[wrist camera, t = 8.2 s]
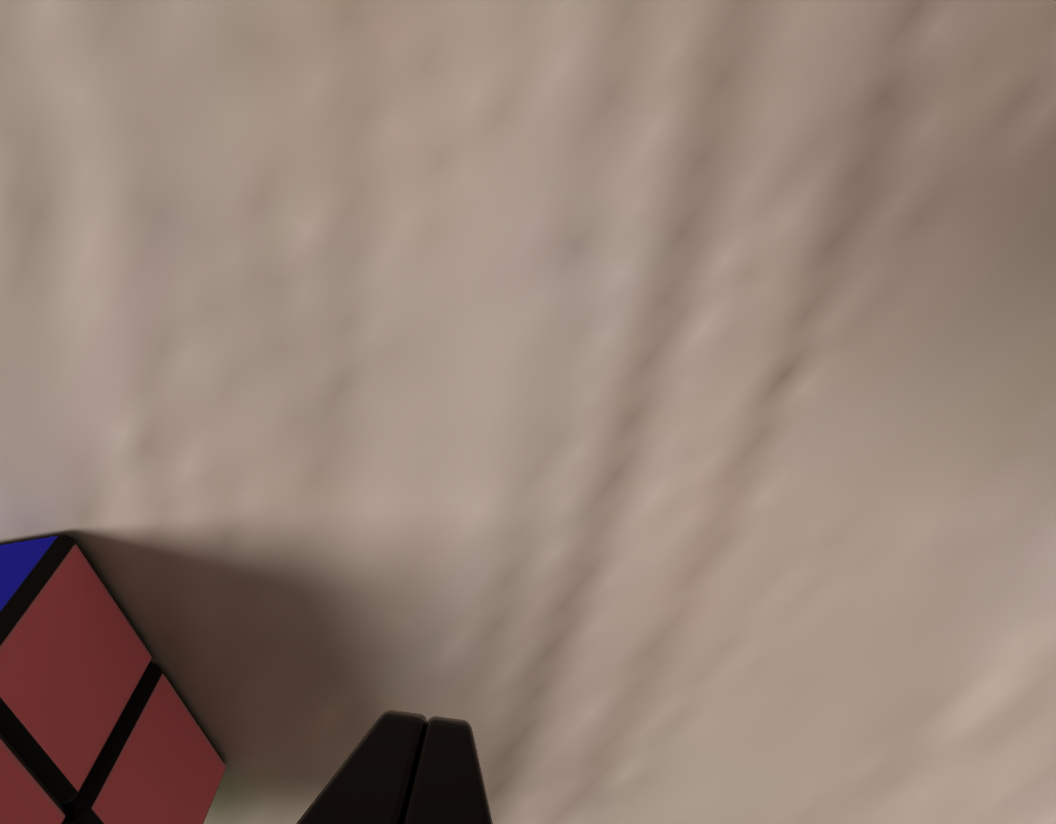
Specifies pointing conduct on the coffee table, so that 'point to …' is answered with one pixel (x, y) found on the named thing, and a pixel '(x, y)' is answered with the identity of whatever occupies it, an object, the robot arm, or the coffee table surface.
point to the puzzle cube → (88, 705)
